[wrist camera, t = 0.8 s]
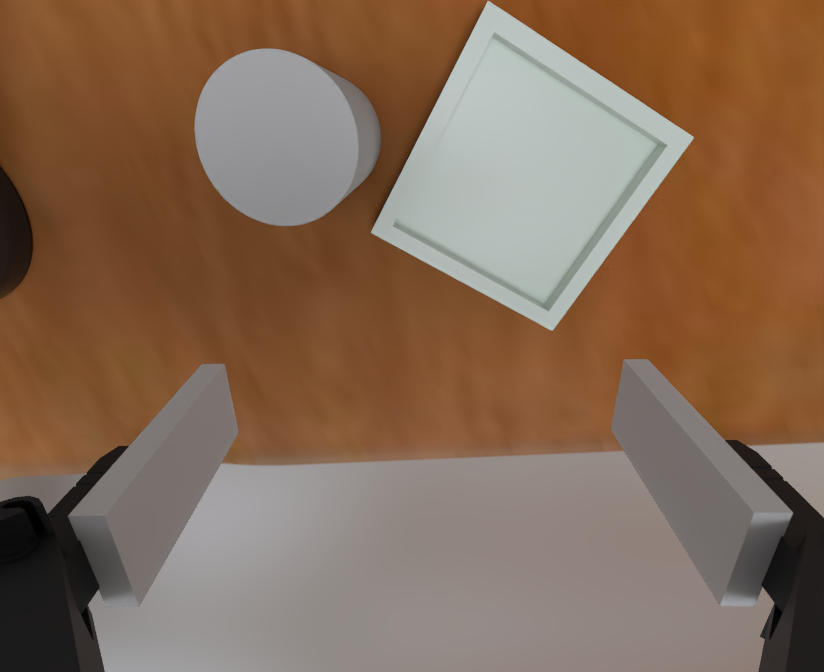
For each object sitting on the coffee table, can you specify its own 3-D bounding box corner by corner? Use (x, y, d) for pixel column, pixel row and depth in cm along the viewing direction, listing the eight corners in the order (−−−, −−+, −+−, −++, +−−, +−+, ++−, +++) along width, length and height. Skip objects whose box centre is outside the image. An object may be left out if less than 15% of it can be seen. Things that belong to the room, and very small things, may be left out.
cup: (270, 64, 33) (190, 35, 22) (387, 83, 33) (366, 63, 22) (268, 186, 36) (198, 213, 25) (374, 202, 36) (351, 236, 25)
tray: (374, 225, 37) (370, 232, 35) (483, 9, 31) (488, 0, 29) (545, 319, 40) (552, 331, 37) (676, 136, 34) (694, 137, 32)
